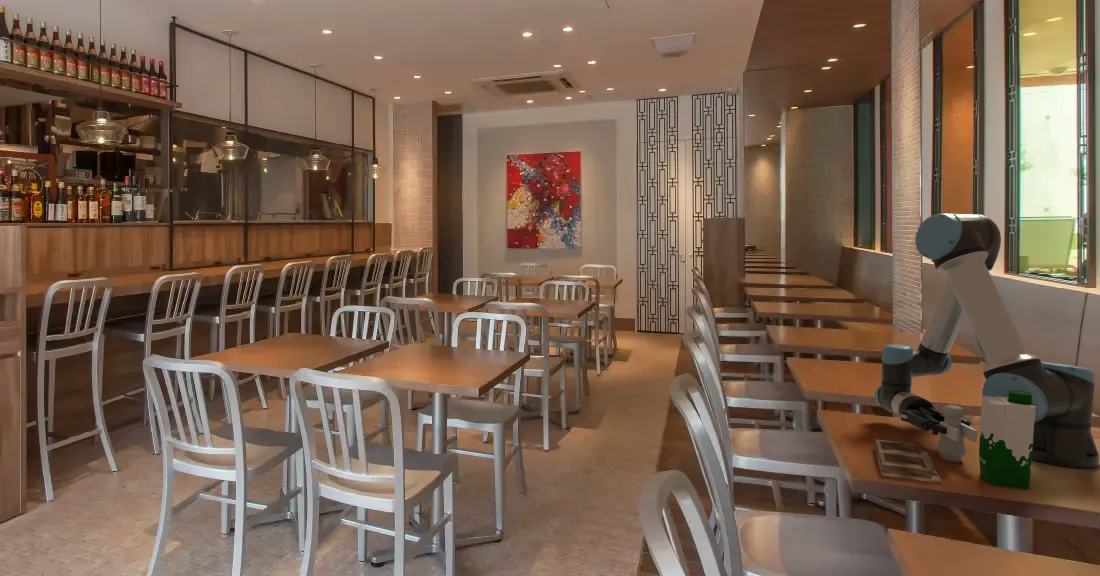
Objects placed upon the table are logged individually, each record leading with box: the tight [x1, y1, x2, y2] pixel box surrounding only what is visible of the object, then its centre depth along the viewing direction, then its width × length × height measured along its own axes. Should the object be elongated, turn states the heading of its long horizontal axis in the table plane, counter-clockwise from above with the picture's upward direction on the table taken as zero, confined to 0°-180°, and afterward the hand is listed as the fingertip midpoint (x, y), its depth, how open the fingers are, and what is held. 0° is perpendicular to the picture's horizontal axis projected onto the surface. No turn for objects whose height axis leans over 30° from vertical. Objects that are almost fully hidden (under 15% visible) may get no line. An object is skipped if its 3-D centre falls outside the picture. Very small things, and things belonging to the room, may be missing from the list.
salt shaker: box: [936, 404, 966, 463], centre depth 147 cm, size 6×6×13 cm
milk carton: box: [978, 390, 1036, 490], centre depth 133 cm, size 9×9×20 cm
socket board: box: [874, 439, 942, 484], centre depth 144 cm, size 11×20×2 cm, turn 156°
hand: (965, 435), depth 142 cm, fingers open, 3 cm apart
